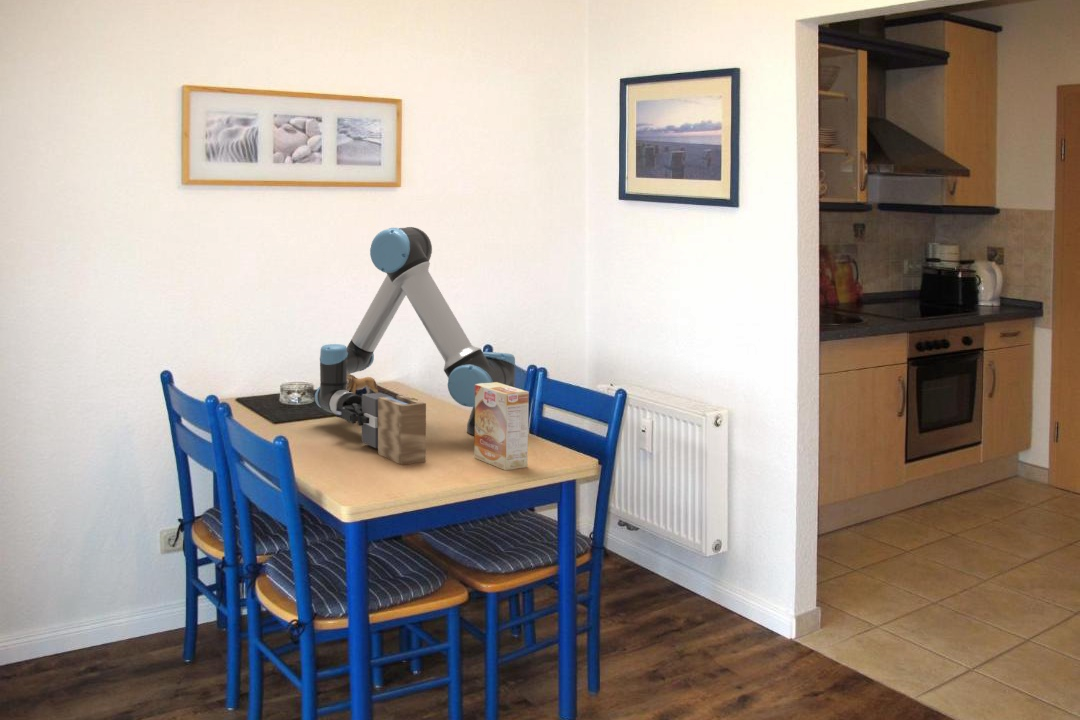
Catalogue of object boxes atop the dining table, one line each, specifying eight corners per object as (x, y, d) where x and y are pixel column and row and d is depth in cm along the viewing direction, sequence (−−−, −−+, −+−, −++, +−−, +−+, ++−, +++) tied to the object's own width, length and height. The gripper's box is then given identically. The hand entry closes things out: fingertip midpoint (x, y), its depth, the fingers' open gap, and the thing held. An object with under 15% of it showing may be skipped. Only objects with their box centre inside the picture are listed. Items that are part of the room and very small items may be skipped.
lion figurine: (344, 401, 349) (344, 374, 347) (336, 398, 353) (335, 371, 351) (383, 396, 358) (383, 370, 356) (375, 394, 362) (375, 367, 360)
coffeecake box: (473, 458, 280) (474, 383, 277) (496, 454, 284) (497, 381, 281) (504, 471, 268) (506, 393, 265) (528, 467, 272) (530, 390, 269)
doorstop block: (361, 442, 290) (361, 394, 288) (380, 439, 294) (380, 392, 292) (375, 448, 284) (375, 399, 282) (394, 445, 287) (394, 397, 285)
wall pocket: (378, 454, 282) (377, 397, 279) (401, 450, 286) (401, 394, 283) (401, 464, 271) (401, 406, 269) (425, 461, 275) (425, 403, 273)
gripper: (378, 415, 308) (418, 431, 289) (317, 422, 297) (354, 439, 279) (378, 389, 307) (418, 404, 288) (317, 395, 296) (354, 411, 278)
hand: (387, 421), depth 284 cm, fingers closed on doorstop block, 5 cm apart
